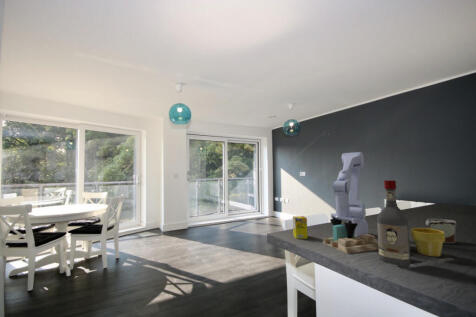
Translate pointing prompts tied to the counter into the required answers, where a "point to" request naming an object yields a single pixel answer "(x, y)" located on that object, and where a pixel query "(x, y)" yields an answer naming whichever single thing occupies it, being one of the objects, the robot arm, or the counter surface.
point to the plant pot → (428, 240)
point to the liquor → (393, 230)
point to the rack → (354, 248)
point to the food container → (443, 228)
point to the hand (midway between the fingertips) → (343, 236)
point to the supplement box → (300, 227)
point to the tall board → (340, 232)
